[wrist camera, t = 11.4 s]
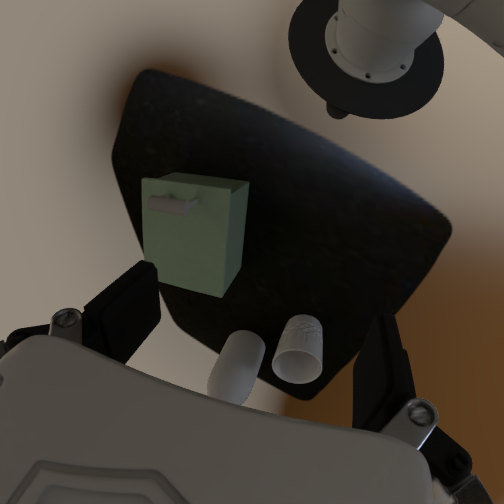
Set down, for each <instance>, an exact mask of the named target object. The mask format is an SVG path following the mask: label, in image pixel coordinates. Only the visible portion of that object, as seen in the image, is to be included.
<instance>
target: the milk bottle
mask: <svg viewBox="0 0 504 504" xmlns="http://www.w3.org/2000/svg"><path fill="white" fill-rule="evenodd" d="M264 352H265V344H264V342H263V340H262V339H261V338H260V337H259V336H258V335H257V334H255V333H253V332H251V331H247V330H239V331H236V332H234V333H232V334H231V335H230V336H229V338H228V339H227V341H226V343H225V345H224V347H223V349H222V351H221V353H220V355H219V357H218V359H217V361H216V363H215V365H214V367H213V370H212V372H211V374H210V377H209V380H208V384H207V394H208V396H210V397H213V398H216V399H220V400H223V401H226V402H230V403H233V404H237V405H241V404H242V403H244V402H245V400H246V399H247V398H248V396H249V394H250V393H251V390H252V388H253V385H254V382H255V379H256V377H257V374H258V371H259V368H260V365H261V362H262V359H263V356H264Z"/></svg>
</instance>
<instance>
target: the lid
mask: <svg viewBox="0 0 504 504" xmlns="http://www.w3.org/2000/svg"><path fill="white" fill-rule="evenodd" d="M230 199H231V188H225V187H218V186H211V185H203V184H196V183H188V182H180V181H172V180H163V179H154V178H142V220H143V243H144V258H145V261H148V262H152V263H154V265H155V267H157V271H158V281H160V282H163V283H167V284H171V285H174V286H178V287H182V288H185V289H189V290H193V291H197V292H201V293H205V294H208V295H212V296H216V297H220V298H222V297H223V292H224V277H225V263H226V249H227V236H228V223H229V211H230Z"/></svg>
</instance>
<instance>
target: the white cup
mask: <svg viewBox="0 0 504 504" xmlns="http://www.w3.org/2000/svg"><path fill="white" fill-rule="evenodd" d="M322 357H323V339H322V326H321V324H320V322H319V321H318V320H317V319H316V318H314V317H313V316H309V315H305V314H303V315H296V316H294V317H292V318H290V319H289V321H288V322H287V324H286V325H285V329H284V331H283V333H282V336H281V338H280V341H279V344H278V347H277V350H276V353H275V355H274V358H273V361H272V368H273V371H274V372H275V374H276V375H277V376H278V377H280V378H281V379H283V380H285V381H287V382H291V383H297V384H302V383H308V382H311V381H313V380H315V379H316V378H318V377H319V375H320V374H321V372H322Z"/></svg>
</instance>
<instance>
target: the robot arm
mask: <svg viewBox="0 0 504 504" xmlns="http://www.w3.org/2000/svg"><path fill="white" fill-rule="evenodd" d="M444 14H445V15H447V16H449V17H451V18H453V19H454V20H456V21H457V22H459V23H460V24H461V25H463V26H464V27H466V28H467V29H469V30H470V31H471V32H473V33H474V34H475V35H477V36H478V37H479V38H480V39H482V40H483V41H484V42H486V43H487V44H488V45H489V46H491V47H492V48H493V49H494V50H495V51H496V52H498V53H499V54H500V55H501V56H503V57H504V0H339V5H338V12H337V13H335V14H334V15H333V16H332V17H331V19H330V20H329V22H328V24H327V26H326V31H325V41H326V47H327V49H328V52H329V54H330V56H331V58H332V59H333V61H334V62H335V63H336V64H337V65H338V67H340V68H341V69H342V70H343V71H344V72H345V73H347V74H349V75H350V76H352V77H354V78H356V79H358V80H361V81H364V82H368V83H376V84H380V83H388V82H392V81H394V80H396V79H398V78H400V77H401V76H403V75H404V74H405V73H406V72H407V71H408V70H409V68H410V66H411V65H412V62H413V59H414V50H415V49H416V48H417V47H418V46H419V45H420V44H422V43H423V42H424V41H425V40H426V39H427V38H428V37H429V36H430V35H432V34H433V33H434V32H435V31H436V30H437V29H438V28H439V26H440V25H441V23H442V20H443V17H444ZM336 19H338V21H336ZM334 51H335V52H337V53H336V54H334V53H333V52H334ZM400 67H403V70H402V69H401V68H400ZM366 76H369V78H366ZM160 319H161V310H160V298H159V285H158V271H157V267H155V265H154V263H152V262H148V261H144V260H141V261H139V262H138V263H137V264H135V265H134V266H133V267H131V268H130V269H129V270H128V271H126V272H125V273H124V274H123V275H121V276H120V277H119V278H118V279H117V280H115V281H114V282H113V283H112V284H110V285H109V286H108V287H107V288H106V289H104V290H103V291H102V292H101V293H100V294H98V295H97V296H96V297H95V298H94V299H92V300H91V301H90V302H89V303H88V304H86V305H85V306H84V312H83V313H81V312H80V311H79V310H77V309H74V308H66V309H62V310H60V311H58V312H56V313H55V314H54V315H53V317H52V319H51V323H50V324H46V325H40V326H33V327H27V328H21V329H17V330H15V331H13V332H12V333H11V334H10V335H9V336H8V337H7V340H6V342H4V340H2V341H0V504H494V503H493V501H492V500H491V498H490V496H489V495H488V493H487V491H486V490H485V488H484V487H483V485H482V483H481V481H480V480H479V478H478V477H477V475H476V474H475V475H472V474H471V469H472V459H471V457H470V455H469V454H468V452H467V451H466V450H465V449H464V448H462V447H461V446H460V445H459V444H458V443H456V442H455V441H454V440H453V439H452V438H450V437H449V436H448V435H447V434H446V433H445V432H443V431H442V430H441V429H440V428H439V427H437V426H436V424H437V422H438V412H437V410H436V408H435V406H434V405H433V404H432V403H431V402H429V401H428V400H426V399H422V398H416V393H415V387H414V382H413V377H412V372H411V367H410V362H409V358H408V354H407V351H406V350H405V349H403V347H402V343H401V339H400V335H399V331H398V327H397V323H396V319H395V316H394V315H389V314H383V313H381V314H380V316H375V318H374V320H373V323H372V325H371V327H370V330H369V332H368V334H367V337H366V339H365V341H364V343H363V346H362V348H361V350H360V352H359V354H358V357H357V359H356V361H355V363H354V367H353V421H352V428H349V427H342V426H336V425H329V424H323V423H317V422H312V421H307V420H301V419H296V418H291V417H286V416H282V415H277V414H273V413H268V412H264V411H260V410H256V409H252V408H248V407H244V406H241V405H237V404H233V403H230V402H226V401H223V400H220V399H216V398H213V397H210V396H207V395H203V394H200V393H197V392H194V391H191V390H189V389H186V388H182V387H180V386H177V385H174V384H172V383H169V382H166V381H164V380H161V379H158V378H156V377H153V376H151V375H148V374H146V373H143V372H141V371H138V370H136V369H134V368H131V367H129V366H127V365H125V364H126V362H127V361H128V360H129V359H130V357H131V356H132V355H133V354H134V353H135V351H136V350H137V349H138V348H139V346H140V345H141V344H142V343H143V341H144V340H145V339H146V338H147V337H148V335H149V334H150V333H151V332H152V331H153V329H154V328H155V327H156V325H157V324H158V323H159V322H160Z"/></svg>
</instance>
